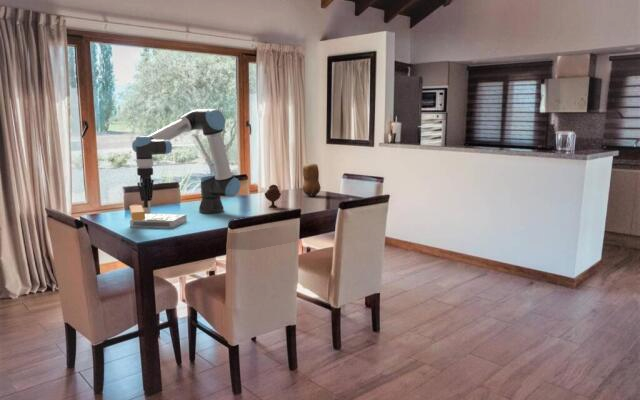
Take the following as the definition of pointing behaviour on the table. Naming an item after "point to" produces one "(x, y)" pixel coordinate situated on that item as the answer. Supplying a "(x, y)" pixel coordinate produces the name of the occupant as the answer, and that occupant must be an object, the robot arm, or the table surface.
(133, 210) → the long orange block
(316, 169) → the butternut squash
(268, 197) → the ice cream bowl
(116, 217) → the table surface
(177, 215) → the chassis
